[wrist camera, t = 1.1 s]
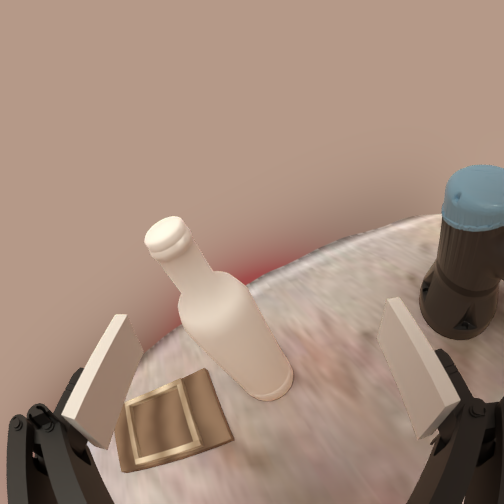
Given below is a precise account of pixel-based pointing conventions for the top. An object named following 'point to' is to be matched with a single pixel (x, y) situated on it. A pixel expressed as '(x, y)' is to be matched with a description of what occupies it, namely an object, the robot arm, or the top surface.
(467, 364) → the top surface
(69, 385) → the robot arm
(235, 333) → the bottle
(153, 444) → the serving board
